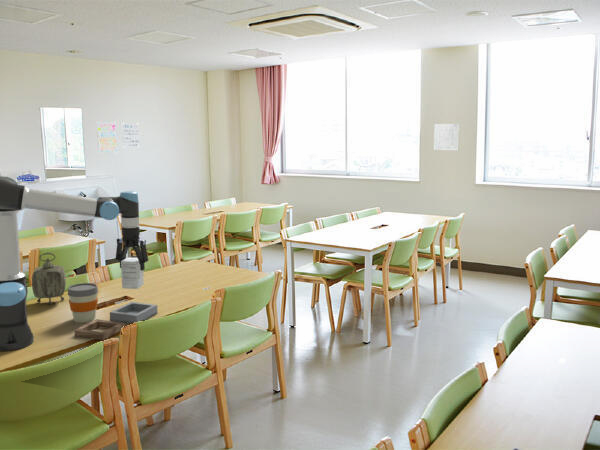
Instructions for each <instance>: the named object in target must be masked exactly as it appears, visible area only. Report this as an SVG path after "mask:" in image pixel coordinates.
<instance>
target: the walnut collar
mask: <svg viewBox="0 0 600 450" xmlns="http://www.w3.org/2000/svg"><path fill="white" fill-rule="evenodd" d="M123 326H125V323H122V322H115V321H110V320H104V319H98V318H97V319H96V318H95V319H94V320H93V321H90V322H87V323H85V324H84V325H82V326H80V327H78V328H75V329H73V330H74V337H79V338H85V339H93V340H99V341H105V340H106V339H108V338H110V337H112V336H114V335H115V334H117V333H119V332H121V331H122V330H121V328H122V327H123ZM97 328H104V329H106V330H103V331H96V330H95V329H97ZM120 330H121V331H120Z"/></svg>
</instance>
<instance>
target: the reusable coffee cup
mask: <svg viewBox="0 0 600 450" xmlns="http://www.w3.org/2000/svg"><path fill="white" fill-rule="evenodd" d="M98 293H99V288H98V284H97V283H91V282H83V283H76V284H72V285H70V286H68V288H67V295H68V297H69V299H68V303H69V308H70V311H71V313H72V318H73V321H74V322H75V323H80V324H81V323H90V322H92V321H94V320H96V313H97V308H98V301H99V297H98Z"/></svg>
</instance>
